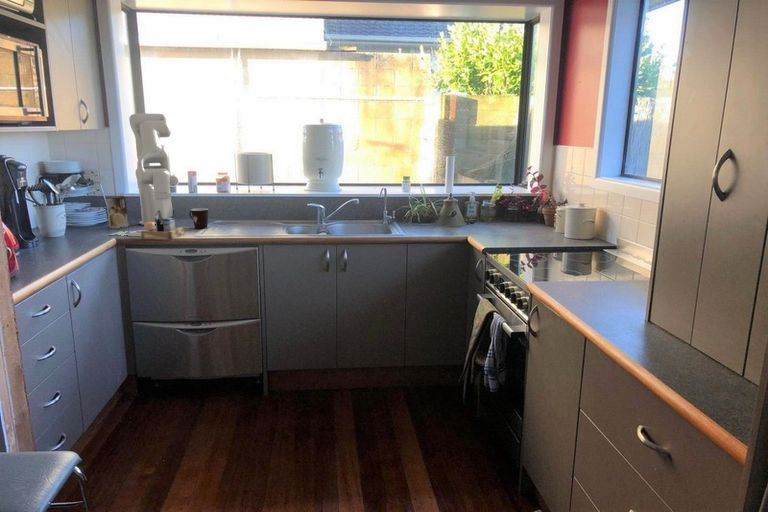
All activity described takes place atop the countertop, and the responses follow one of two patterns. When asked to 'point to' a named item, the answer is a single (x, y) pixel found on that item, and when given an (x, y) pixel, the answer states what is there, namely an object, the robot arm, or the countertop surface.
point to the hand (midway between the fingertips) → (165, 230)
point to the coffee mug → (200, 217)
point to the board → (120, 233)
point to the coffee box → (117, 212)
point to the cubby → (161, 234)
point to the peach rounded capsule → (149, 225)
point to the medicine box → (168, 224)
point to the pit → (135, 233)
